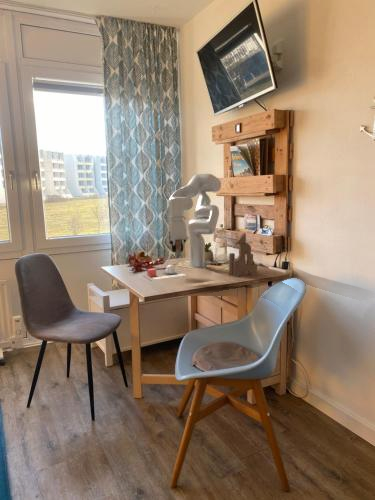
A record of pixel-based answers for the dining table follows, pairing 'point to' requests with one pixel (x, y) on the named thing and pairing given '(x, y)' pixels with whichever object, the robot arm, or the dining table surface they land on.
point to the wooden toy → (242, 259)
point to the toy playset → (143, 261)
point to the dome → (170, 269)
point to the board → (153, 273)
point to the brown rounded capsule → (178, 246)
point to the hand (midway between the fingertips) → (177, 251)
